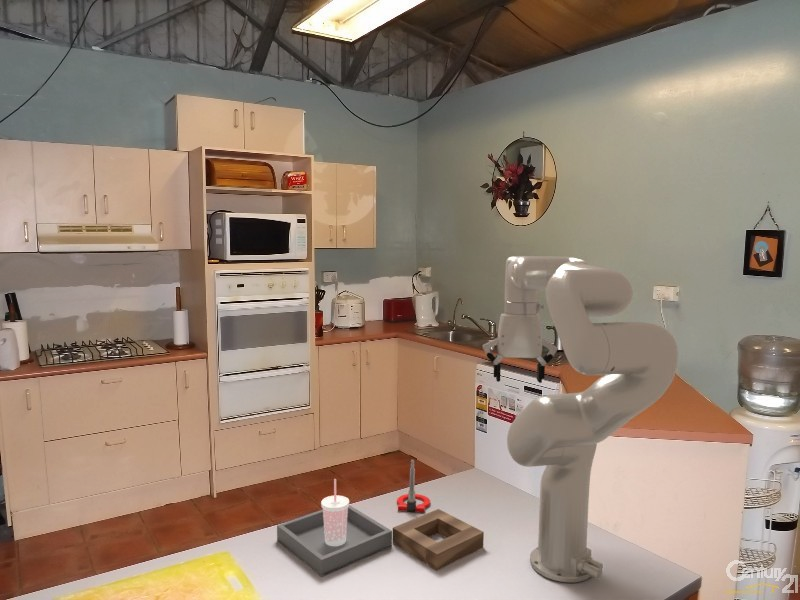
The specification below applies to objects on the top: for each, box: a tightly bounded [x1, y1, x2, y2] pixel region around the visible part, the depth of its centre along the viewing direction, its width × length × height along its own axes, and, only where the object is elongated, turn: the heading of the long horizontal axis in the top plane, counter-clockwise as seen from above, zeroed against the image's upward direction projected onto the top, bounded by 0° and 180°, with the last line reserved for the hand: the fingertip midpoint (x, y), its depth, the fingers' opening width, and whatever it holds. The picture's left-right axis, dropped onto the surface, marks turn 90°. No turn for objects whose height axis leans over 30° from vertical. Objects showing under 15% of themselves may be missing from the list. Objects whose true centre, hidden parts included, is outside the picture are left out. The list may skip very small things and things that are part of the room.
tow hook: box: [396, 459, 431, 513], centre depth 146 cm, size 8×13×9 cm
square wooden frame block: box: [392, 508, 484, 572], centre depth 126 cm, size 14×14×4 cm
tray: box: [276, 504, 393, 578], centre depth 127 cm, size 18×18×4 cm
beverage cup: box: [320, 478, 350, 546], centre depth 126 cm, size 6×6×14 cm
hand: (518, 380), depth 137 cm, fingers open, 9 cm apart
